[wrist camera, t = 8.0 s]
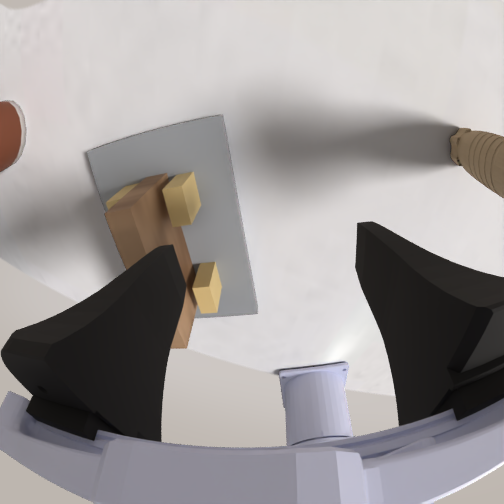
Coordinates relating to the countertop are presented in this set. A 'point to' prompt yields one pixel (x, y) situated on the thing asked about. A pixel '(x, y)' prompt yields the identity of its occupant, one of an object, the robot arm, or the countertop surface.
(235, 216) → the hinge board
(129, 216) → the door panel
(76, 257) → the countertop surface
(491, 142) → the handle
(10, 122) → the coffee cup
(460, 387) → the robot arm
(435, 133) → the countertop surface
